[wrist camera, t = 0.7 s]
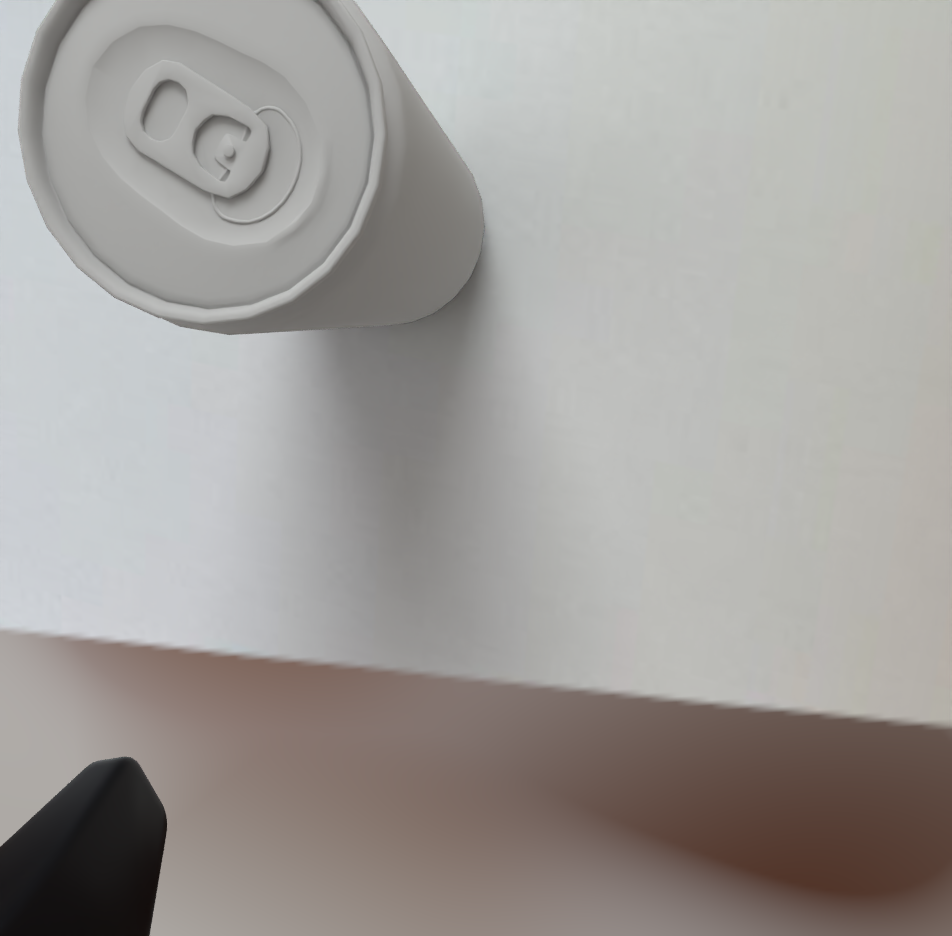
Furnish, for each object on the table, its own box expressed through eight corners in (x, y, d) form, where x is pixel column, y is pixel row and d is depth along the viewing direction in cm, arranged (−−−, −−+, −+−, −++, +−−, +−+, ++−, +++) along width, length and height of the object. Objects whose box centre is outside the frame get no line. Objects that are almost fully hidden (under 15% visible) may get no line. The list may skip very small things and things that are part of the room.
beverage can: (423, 361, 23) (273, 410, 11) (262, 260, 23) (-58, 204, 11) (523, 192, 22) (475, 52, 10) (356, 87, 22) (115, -173, 10)
